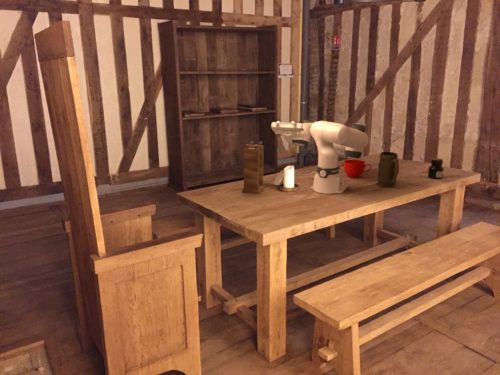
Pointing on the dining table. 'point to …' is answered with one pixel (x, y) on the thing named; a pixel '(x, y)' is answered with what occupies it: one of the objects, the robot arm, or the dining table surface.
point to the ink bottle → (436, 169)
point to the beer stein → (387, 170)
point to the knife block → (253, 168)
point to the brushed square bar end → (278, 179)
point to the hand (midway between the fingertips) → (285, 122)
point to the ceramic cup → (355, 168)
